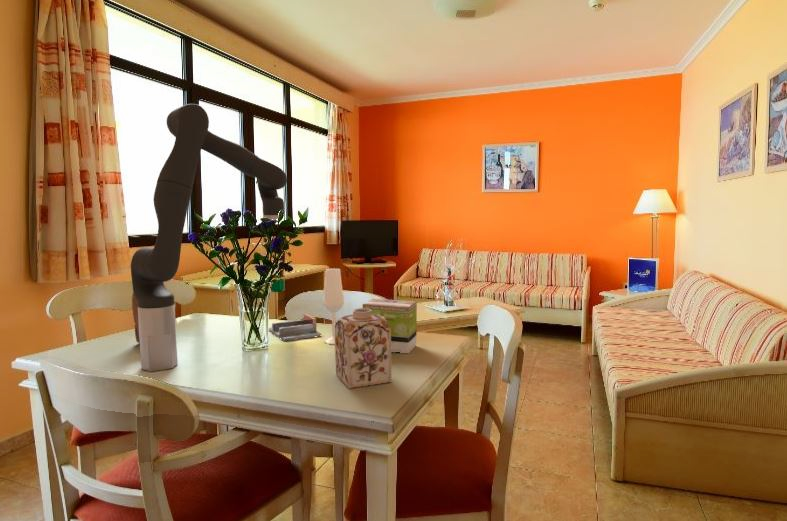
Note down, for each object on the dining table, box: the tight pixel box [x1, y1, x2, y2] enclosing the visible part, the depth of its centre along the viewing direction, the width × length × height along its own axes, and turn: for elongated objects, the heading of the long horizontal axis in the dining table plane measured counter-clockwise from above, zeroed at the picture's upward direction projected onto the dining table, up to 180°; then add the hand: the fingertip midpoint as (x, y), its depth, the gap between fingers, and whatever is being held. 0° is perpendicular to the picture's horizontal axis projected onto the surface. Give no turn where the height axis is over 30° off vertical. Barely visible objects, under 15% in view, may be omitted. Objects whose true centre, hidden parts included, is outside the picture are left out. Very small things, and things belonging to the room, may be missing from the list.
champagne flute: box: [322, 268, 345, 343], centre depth 162 cm, size 7×7×24 cm
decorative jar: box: [334, 307, 393, 389], centre depth 127 cm, size 12×12×18 cm
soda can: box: [270, 269, 286, 293], centre depth 169 cm, size 5×5×12 cm
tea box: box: [362, 298, 418, 354], centre depth 155 cm, size 15×10×15 cm
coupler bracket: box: [268, 313, 322, 342], centre depth 175 cm, size 18×13×5 cm
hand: (276, 278), depth 169 cm, fingers closed on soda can, 5 cm apart
